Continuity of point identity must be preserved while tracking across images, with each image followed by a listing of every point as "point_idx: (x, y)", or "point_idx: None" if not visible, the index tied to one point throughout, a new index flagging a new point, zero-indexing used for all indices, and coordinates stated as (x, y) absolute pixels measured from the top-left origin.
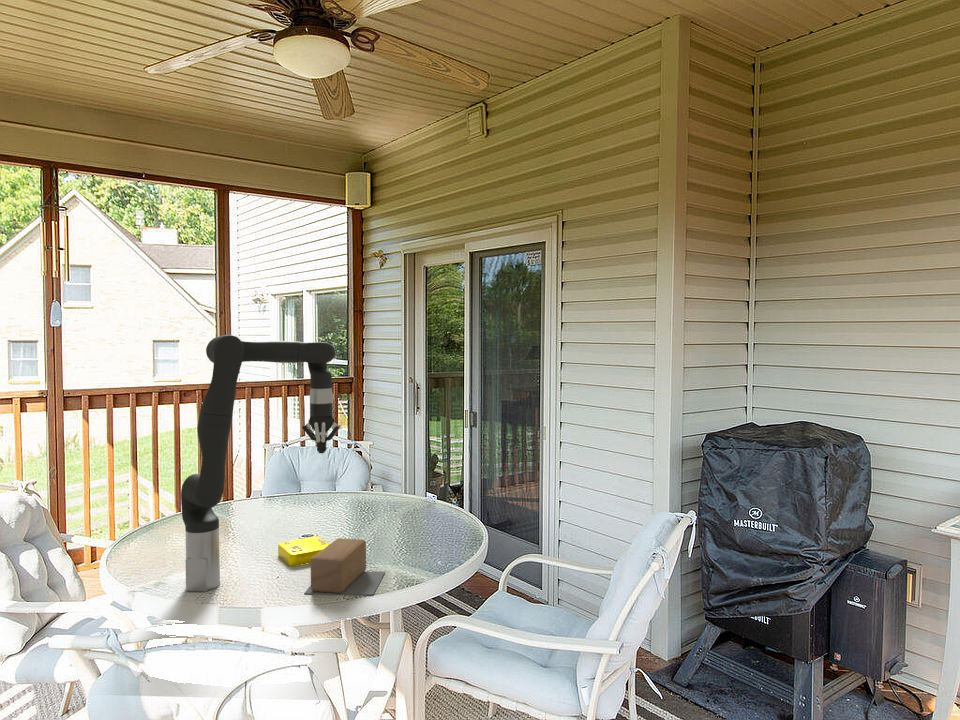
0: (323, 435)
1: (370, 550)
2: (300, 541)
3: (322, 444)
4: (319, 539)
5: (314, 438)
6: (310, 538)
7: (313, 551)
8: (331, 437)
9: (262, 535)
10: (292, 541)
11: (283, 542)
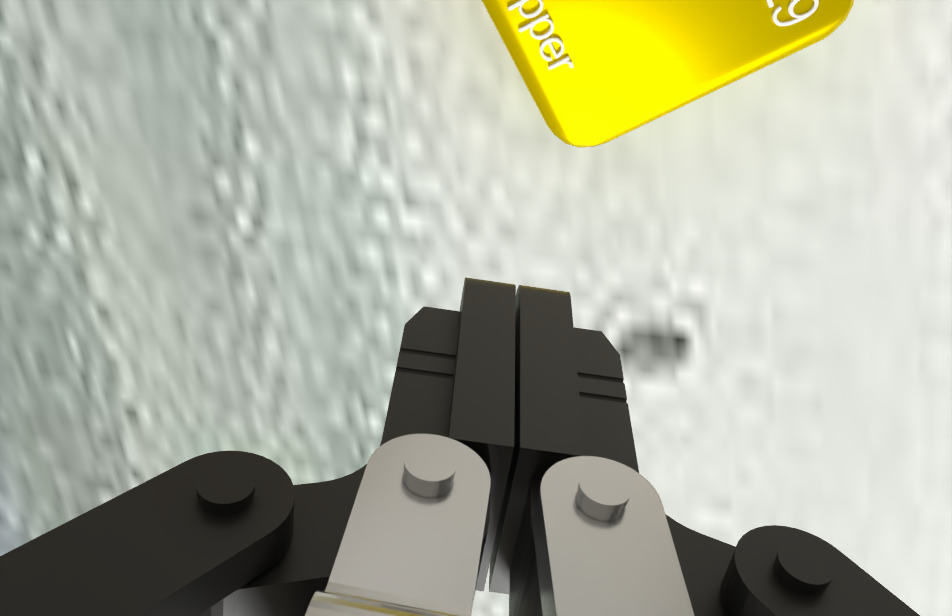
0: (390, 607)
1: (202, 13)
2: (690, 37)
3: (463, 401)
4: (552, 65)
5: (743, 573)
6: (621, 103)
7: None
8: (88, 517)
9: (928, 379)
10: (750, 43)
11: (817, 28)
